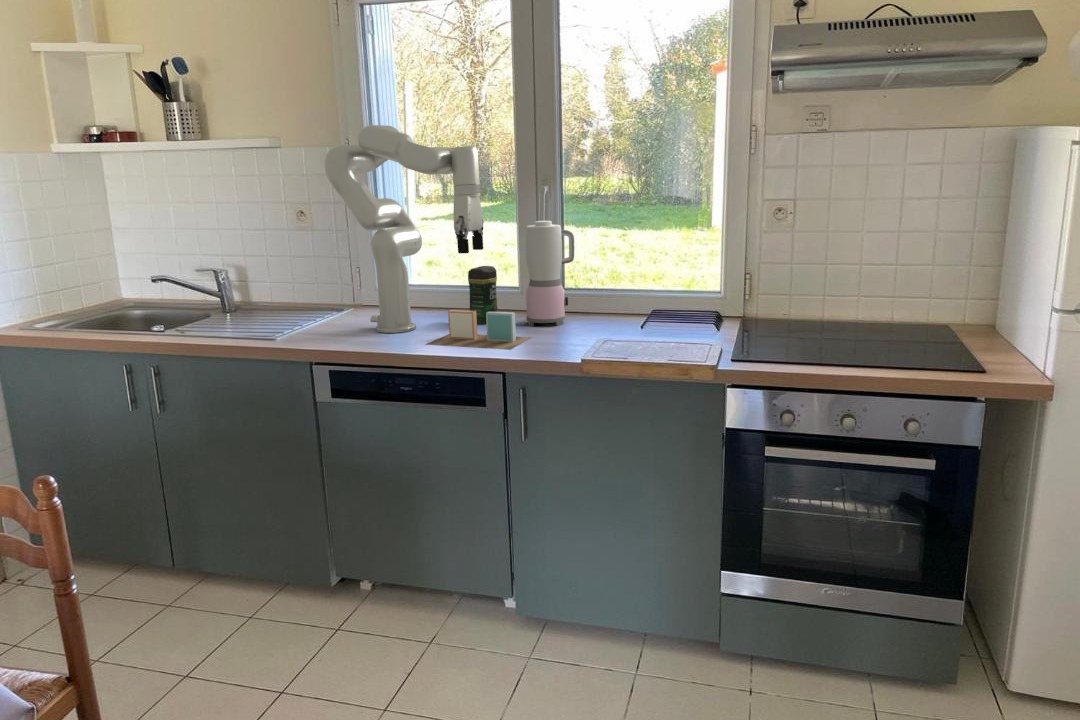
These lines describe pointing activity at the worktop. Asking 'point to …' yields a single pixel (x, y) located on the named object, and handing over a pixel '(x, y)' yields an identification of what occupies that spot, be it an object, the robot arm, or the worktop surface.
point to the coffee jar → (482, 291)
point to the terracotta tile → (462, 324)
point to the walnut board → (478, 342)
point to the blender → (546, 272)
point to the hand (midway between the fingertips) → (471, 251)
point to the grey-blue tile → (501, 326)
